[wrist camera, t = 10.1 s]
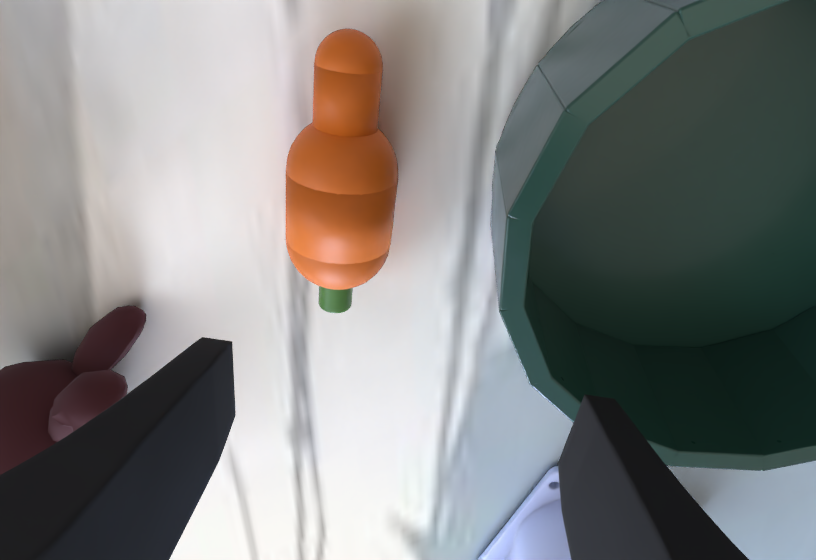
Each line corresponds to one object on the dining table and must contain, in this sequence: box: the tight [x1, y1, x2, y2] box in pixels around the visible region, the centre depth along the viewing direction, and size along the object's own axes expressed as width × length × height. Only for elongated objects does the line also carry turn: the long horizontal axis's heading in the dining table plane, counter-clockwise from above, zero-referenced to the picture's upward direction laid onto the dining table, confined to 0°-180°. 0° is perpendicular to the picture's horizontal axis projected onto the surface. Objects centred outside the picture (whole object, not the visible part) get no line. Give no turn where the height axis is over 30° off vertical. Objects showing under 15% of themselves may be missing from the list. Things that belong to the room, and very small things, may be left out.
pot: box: [491, 0, 816, 471], centre depth 17 cm, size 14×14×6 cm
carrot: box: [286, 29, 398, 313], centre depth 19 cm, size 10×4×4 cm
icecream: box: [0, 306, 146, 475], centre depth 24 cm, size 7×7×15 cm
